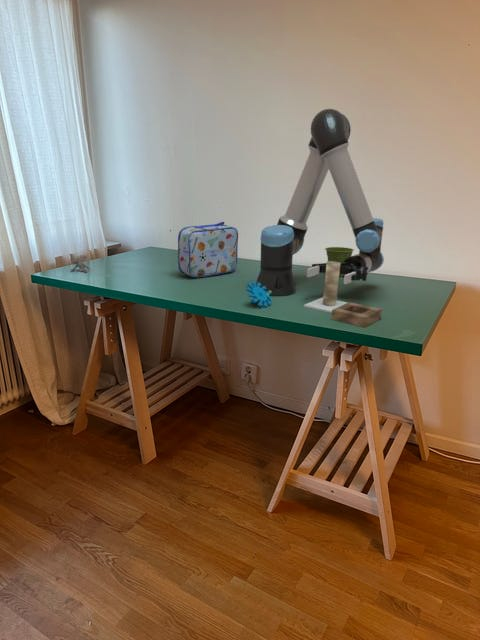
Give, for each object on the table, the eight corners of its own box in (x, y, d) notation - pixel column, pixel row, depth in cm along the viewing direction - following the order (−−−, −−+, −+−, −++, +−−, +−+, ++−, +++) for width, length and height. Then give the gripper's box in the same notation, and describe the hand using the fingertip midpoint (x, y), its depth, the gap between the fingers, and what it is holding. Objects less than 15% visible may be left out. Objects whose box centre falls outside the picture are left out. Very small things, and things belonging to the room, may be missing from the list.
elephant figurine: (77, 275, 190) (63, 265, 194) (84, 282, 196) (70, 273, 199) (93, 258, 193) (80, 249, 196) (99, 266, 198) (86, 256, 202)
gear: (257, 306, 144) (244, 280, 147) (246, 315, 148) (234, 290, 151) (279, 303, 152) (266, 279, 155) (269, 313, 156) (256, 289, 159)
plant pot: (357, 275, 192) (359, 249, 189) (340, 279, 185) (343, 252, 181) (334, 270, 201) (336, 245, 197) (317, 274, 193) (319, 248, 189)
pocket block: (331, 319, 137) (332, 309, 136) (348, 311, 145) (349, 302, 144) (364, 327, 131) (365, 317, 130) (380, 318, 139) (382, 308, 138)
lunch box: (227, 267, 205) (227, 218, 198) (242, 271, 198) (242, 221, 191) (176, 276, 189) (173, 223, 182) (189, 281, 181) (188, 226, 174)
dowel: (320, 303, 150) (324, 262, 145) (326, 301, 153) (331, 260, 149) (331, 306, 147) (336, 264, 143) (338, 304, 150) (343, 262, 146)
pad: (303, 306, 150) (303, 304, 149) (322, 298, 158) (322, 297, 158) (335, 314, 142) (336, 312, 142) (353, 305, 151) (353, 303, 151)
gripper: (389, 281, 153) (360, 294, 138) (325, 270, 169) (293, 281, 153) (391, 260, 151) (363, 270, 136) (326, 251, 166) (294, 259, 151)
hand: (325, 276), depth 144 cm, fingers open, 13 cm apart
